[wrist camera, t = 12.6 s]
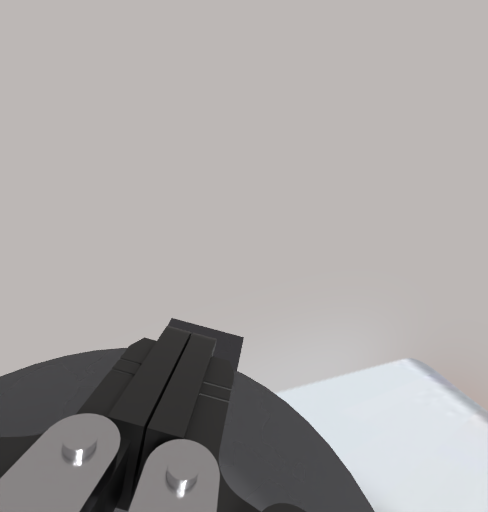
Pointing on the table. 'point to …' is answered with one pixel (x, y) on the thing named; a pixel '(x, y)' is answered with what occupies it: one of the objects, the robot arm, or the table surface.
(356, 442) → the table surface
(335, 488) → the lid
